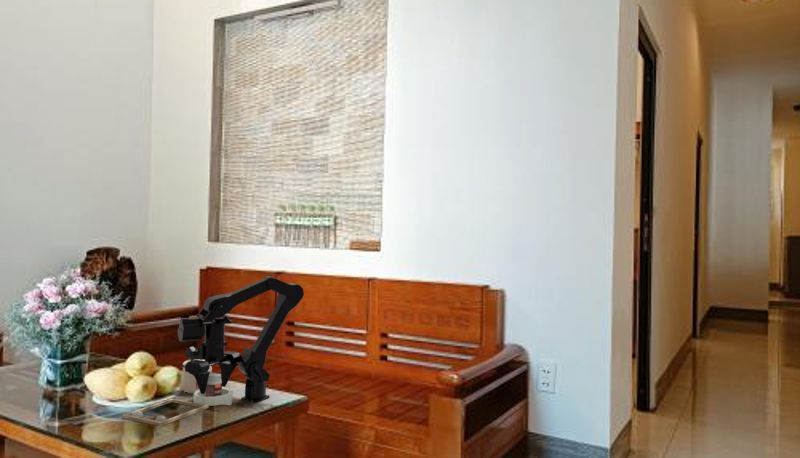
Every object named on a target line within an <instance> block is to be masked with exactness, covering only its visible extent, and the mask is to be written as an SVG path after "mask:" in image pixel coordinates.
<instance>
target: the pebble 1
mask: <svg viewBox="0 0 800 458" xmlns="http://www.w3.org/2000/svg"><path fill="white" fill-rule="evenodd" d="M134 411H135V412H134V413H133V414H132V416H135V417H140V418H143V417H144V412H141V411H136V410H134Z"/></svg>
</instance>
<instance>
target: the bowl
mask: <svg viewBox="0 0 800 458" xmlns="http://www.w3.org/2000/svg"><path fill="white" fill-rule="evenodd" d="M205 392H206V391H205ZM233 393H234V392H233V390H232V389H230V388H228V387H222V396H215V397H205V394H201V392H200V390H198V391H196V392H195V393H192V395H193V400H192V401H193V402H194V403H199V404H205V405H208V407H210V406H211V407H212V406H214V407H215V406H220V405H226V406H232V404H233V398H234V397H233Z"/></svg>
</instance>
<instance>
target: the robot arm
mask: <svg viewBox="0 0 800 458" xmlns="http://www.w3.org/2000/svg"><path fill="white" fill-rule="evenodd" d="M268 291H272V292H274V293H277V296H276V304H275V306H274V309H273V310H272V312H271V314H270V315H269V317H268V319H267V321H266V323H265V325H263V328H262V329H261V331H260V333H259V335H258V337H257V339H256V340H255V341H254V344H253V345H252V346H250V348H248V347H244V349H243V351H242V353H240V352H237V351H230V350H227V351H225V347H226V346H228V341H225V332H226V331H225V329H226V328H225V327H226V325H227V324H232V320H230V319H229V317H228V316H227V314H228V313H230V312H231V311H232V310H233V309H234V308H236V307H237V306H238V305H240V304H242V303H244V302H246V301H247V302H248V301H249V300H251V299H253V298H255V297H258V296H259V295H262V294H264V293H266V292H268ZM304 295H305V291H304V289H303V287H302V286H301V285H299V284H297V283H292V282H285V281H282V280H280V279H277V278H276V277H274V276H269V275H267V276H264V277H263V278H261V279H259V280H256V281H254V282H252V283H249V284H247V285H245V286H242V287H241V288H239V289H238V288H237V289H235V290H234V291H232V292H228V293H221V294H217V295H213V296H209V297H208V298H206V299H205V300H204V303H203V307H202V309H200V311H199V312H198V314H197V315H196V316H195V317H190V318H187V317H182V318H180V322H179V325H178V328H177V337H178V340H179V342H180V343H182V342H194V341H201V339H203V338H204V341H202V342H201V343H200V347H198V348H195V347H194V346H190V347H186V348H185V358H186V359H187V360H191V361H189V362H187V363H186V364H185V372H188V373H189V374H192V375H193V376H194V377H195V379H196V381H197V384H198V387H199V389H200V392H201V394H205V391H206V387H207V383H208V378H209V374H210V372H208V370H209V368H210V366H211V367H212V366H215V365H218V366H219V367H220V374H221V379H220V380H221V381H222V388H226V386H227V384H228V382H229V380H230V378H231V376H232V374H233V372H234V371H235V369H236V367H238V370H239V371H240V372H241V373H242V374H243V377H244V378H246V379H245V385H244V396H243V397H240V399H241V400H243V401H250V402H255V403H259V402H261V401H263V400H266V399H268V398H270V396H271V395H268V394H267V393H266V392H267V387H266V386H267V382H268V381H269V379H270V373H269V371H267V370H266V369H265V368H264V367H265V364H266V359H267V352H268V351H269V348H270V347H271V345H272V343H273V342H274V340H275V338H276V336H277V334H278V332H279V331H280V329H281V327H282V325H283V324H284V322H285V321H286V318H287V317H288V315H289V314H290V312H291V311H292V310H293V309H295V308H296V307H297V306H298V305H299V303H301V301H302V300H303V298H304ZM195 359H199V360H195ZM202 360H205V361H202Z"/></svg>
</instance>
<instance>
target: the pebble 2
mask: <svg viewBox="0 0 800 458" xmlns="http://www.w3.org/2000/svg"><path fill="white" fill-rule="evenodd" d="M164 420H167V417H166V416H165V415H158V416H157V417H156V418H155V419H154V421H159V422H162V421H164Z"/></svg>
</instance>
